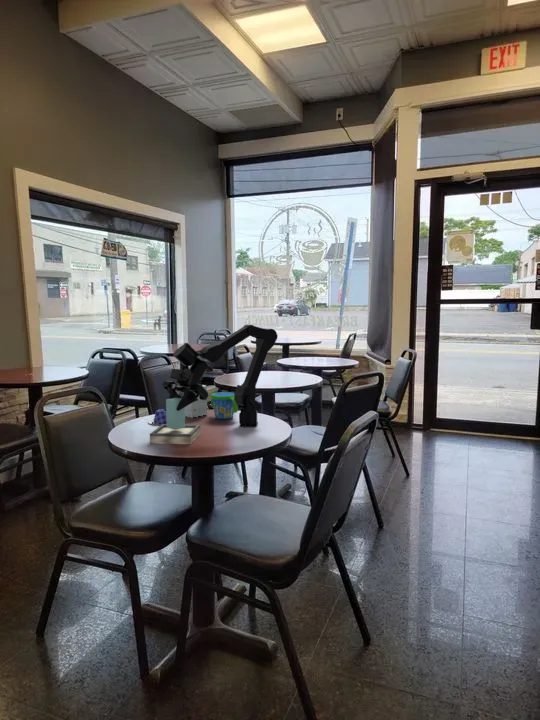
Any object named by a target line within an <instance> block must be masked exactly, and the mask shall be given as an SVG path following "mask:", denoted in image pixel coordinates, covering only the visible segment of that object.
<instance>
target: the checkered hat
mask: <svg viewBox="0 0 540 720" xmlns="http://www.w3.org/2000/svg"><path fill="white" fill-rule="evenodd" d="M152 422H153V424H152ZM148 423H149V424H150V425H156V426H161V425H162V424H167V419H166V408H162V409H161V408H160V409H157V410H155V413H154V418H153V419H150V420H148Z"/></svg>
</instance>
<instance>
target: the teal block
mask: <svg viewBox="0 0 540 720" xmlns="http://www.w3.org/2000/svg"><path fill="white" fill-rule="evenodd" d="M181 399H182V398H171V399H169V398H167V399H165V409H166V419H167V428H170V429H175V430H176V429H180V428H184V427H185V425H186V416H185V407H184V408H183V409H181V410H179V411H177V410H176V409H177V406H178V404H179V402H180V401H181Z"/></svg>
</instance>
